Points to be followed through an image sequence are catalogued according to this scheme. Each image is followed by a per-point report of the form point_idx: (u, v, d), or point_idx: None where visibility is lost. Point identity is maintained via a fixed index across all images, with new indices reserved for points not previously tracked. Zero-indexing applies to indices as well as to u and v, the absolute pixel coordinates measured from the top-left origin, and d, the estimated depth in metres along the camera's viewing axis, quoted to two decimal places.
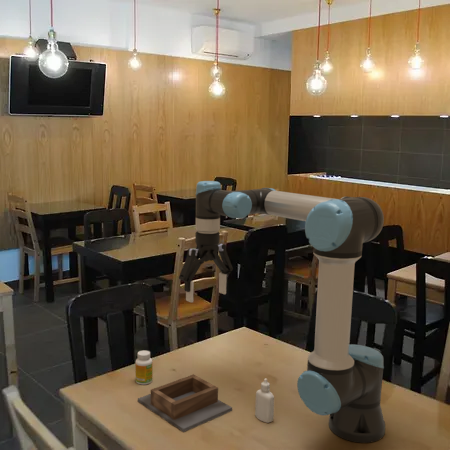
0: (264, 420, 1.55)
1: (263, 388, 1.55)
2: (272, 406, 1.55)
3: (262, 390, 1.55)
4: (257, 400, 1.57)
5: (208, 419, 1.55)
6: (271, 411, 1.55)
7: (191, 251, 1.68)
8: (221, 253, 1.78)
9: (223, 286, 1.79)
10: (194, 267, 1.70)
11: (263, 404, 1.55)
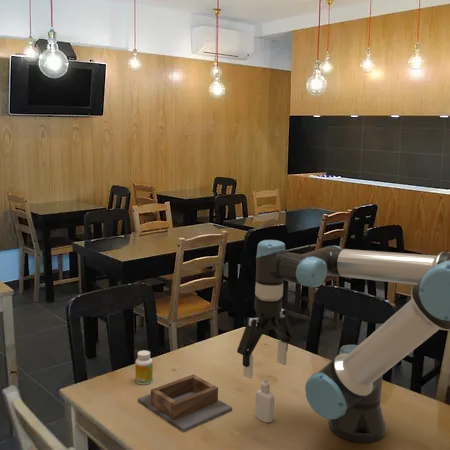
0: (264, 420, 1.55)
1: (263, 388, 1.55)
2: (272, 406, 1.55)
3: (262, 390, 1.55)
4: (257, 400, 1.57)
5: (208, 419, 1.55)
6: (271, 411, 1.55)
7: (251, 321, 1.47)
8: (281, 319, 1.57)
9: (283, 356, 1.58)
10: (254, 339, 1.49)
11: (263, 404, 1.55)
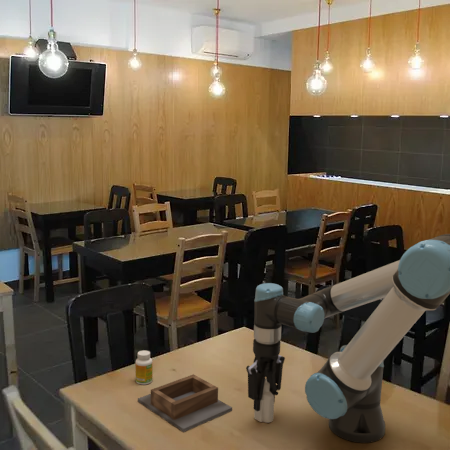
0: (264, 420, 1.55)
1: (263, 388, 1.55)
2: (272, 406, 1.55)
3: None
4: None
5: (208, 419, 1.55)
6: (271, 411, 1.55)
7: (250, 371, 1.50)
8: (276, 365, 1.58)
9: None
10: (259, 384, 1.53)
11: None
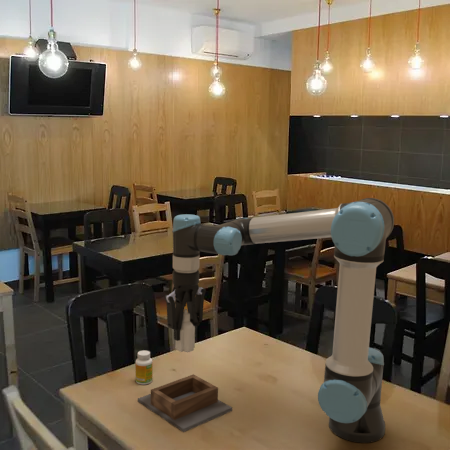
0: (184, 350, 1.58)
1: (183, 318, 1.58)
2: (192, 336, 1.58)
3: (182, 320, 1.58)
4: None
5: (208, 419, 1.55)
6: (190, 340, 1.58)
7: (168, 299, 1.53)
8: (197, 297, 1.61)
9: None
10: (178, 313, 1.56)
11: None
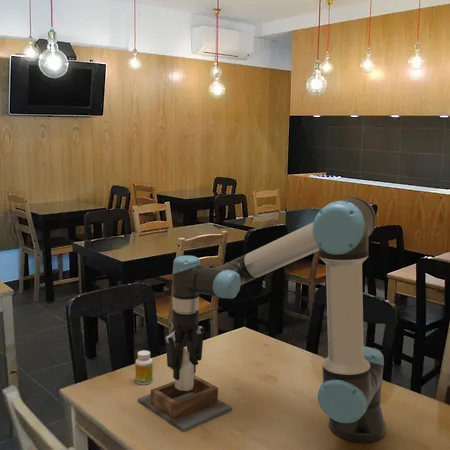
0: (183, 388, 1.60)
1: (182, 357, 1.60)
2: (191, 375, 1.60)
3: None
4: None
5: (208, 419, 1.55)
6: (190, 379, 1.60)
7: (168, 340, 1.55)
8: (197, 336, 1.63)
9: None
10: (178, 353, 1.58)
11: None
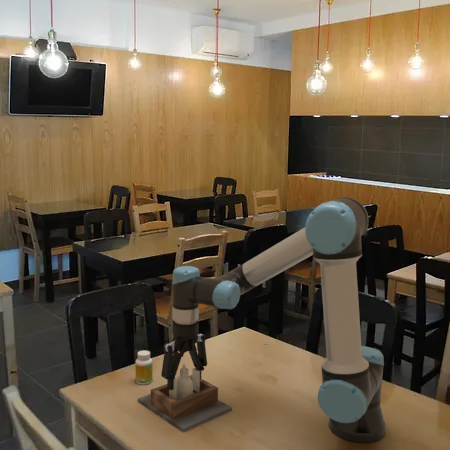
0: None
1: (181, 374, 1.60)
2: (191, 391, 1.60)
3: (181, 376, 1.61)
4: (177, 385, 1.62)
5: (208, 419, 1.55)
6: None
7: (167, 348, 1.55)
8: (199, 344, 1.64)
9: (196, 383, 1.64)
10: (174, 363, 1.58)
11: (182, 389, 1.60)
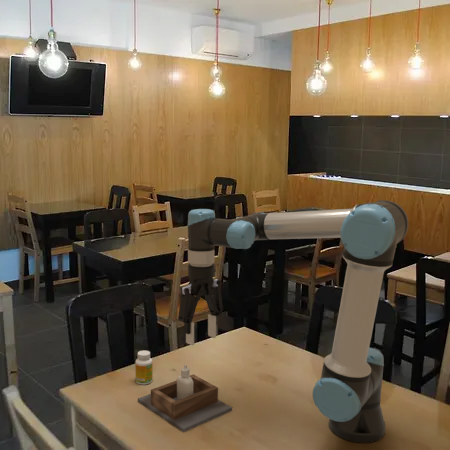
0: None
1: (183, 373, 1.61)
2: (191, 391, 1.61)
3: (182, 375, 1.61)
4: (178, 385, 1.62)
5: (208, 419, 1.55)
6: None
7: (184, 290, 1.54)
8: (214, 289, 1.63)
9: (213, 329, 1.63)
10: (191, 306, 1.57)
11: (183, 389, 1.60)
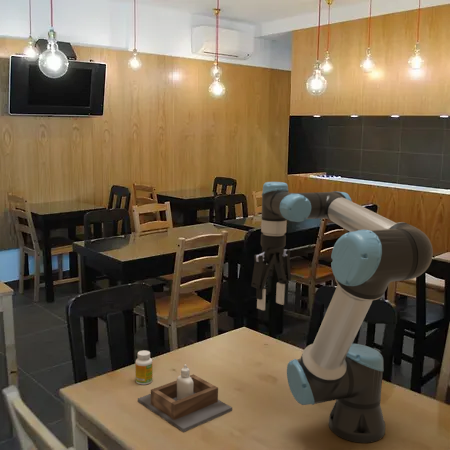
0: None
1: (182, 373, 1.61)
2: (191, 391, 1.61)
3: (182, 375, 1.61)
4: (178, 385, 1.62)
5: (208, 419, 1.55)
6: None
7: (258, 258, 1.63)
8: (283, 259, 1.72)
9: (281, 296, 1.72)
10: (264, 273, 1.66)
11: (183, 389, 1.60)
